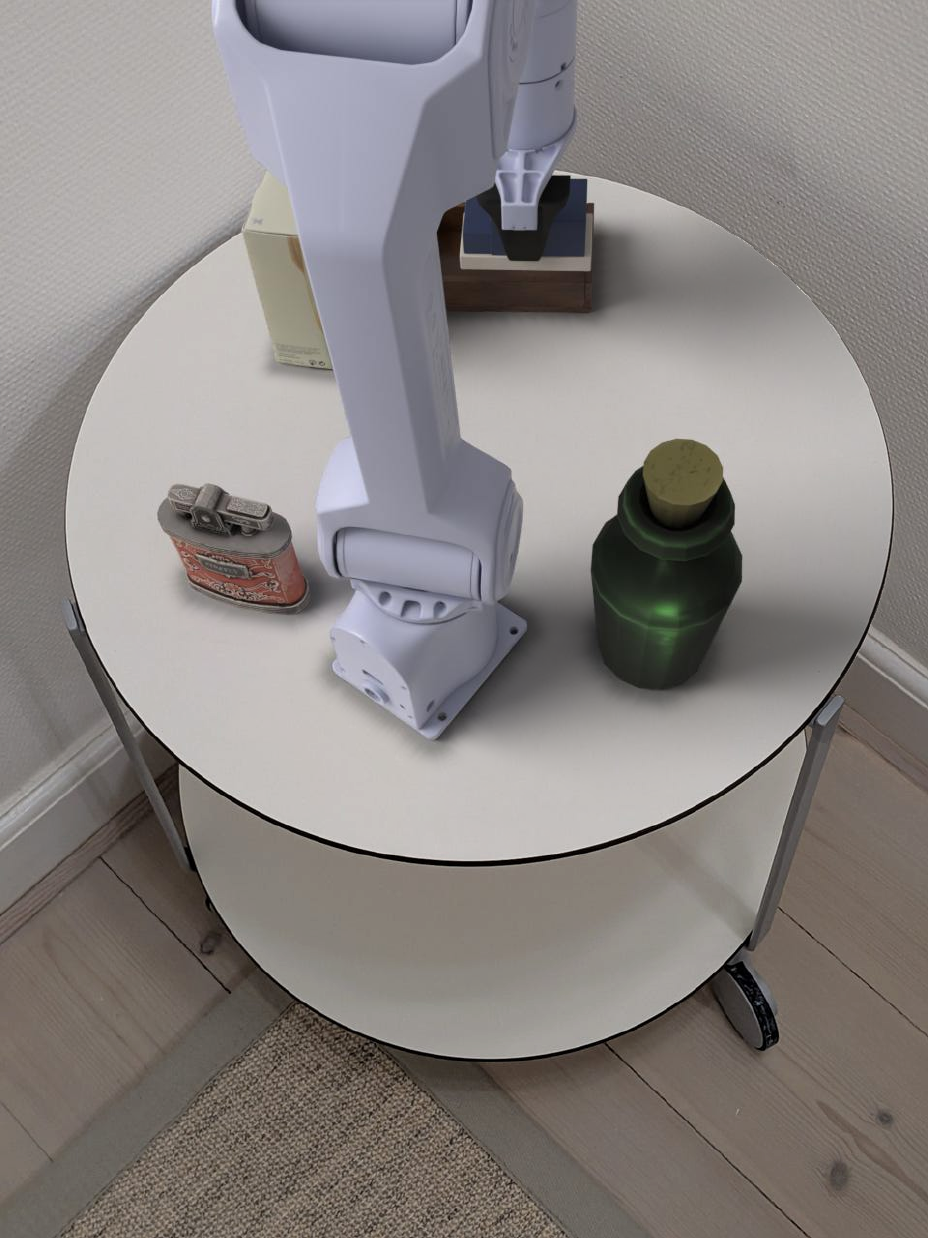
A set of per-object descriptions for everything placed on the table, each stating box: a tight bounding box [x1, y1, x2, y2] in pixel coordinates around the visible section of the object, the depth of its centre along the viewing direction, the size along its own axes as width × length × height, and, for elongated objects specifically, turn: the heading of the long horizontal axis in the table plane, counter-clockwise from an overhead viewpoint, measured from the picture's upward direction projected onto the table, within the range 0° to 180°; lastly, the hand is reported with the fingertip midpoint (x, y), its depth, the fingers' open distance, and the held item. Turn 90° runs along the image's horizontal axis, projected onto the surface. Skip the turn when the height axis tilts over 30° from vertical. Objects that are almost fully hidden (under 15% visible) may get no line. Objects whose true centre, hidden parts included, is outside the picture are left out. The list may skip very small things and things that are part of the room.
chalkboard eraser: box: [460, 178, 593, 271], centre depth 80 cm, size 8×4×4 cm, turn 86°
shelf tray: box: [437, 202, 595, 313], centre depth 88 cm, size 12×8×3 cm, turn 86°
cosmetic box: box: [241, 168, 333, 370], centre depth 82 cm, size 6×4×12 cm
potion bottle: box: [590, 438, 743, 691], centre depth 67 cm, size 8×8×18 cm
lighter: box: [156, 482, 312, 615], centre depth 74 cm, size 8×3×10 cm, turn 73°
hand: (525, 231), depth 81 cm, fingers closed on chalkboard eraser, 4 cm apart
